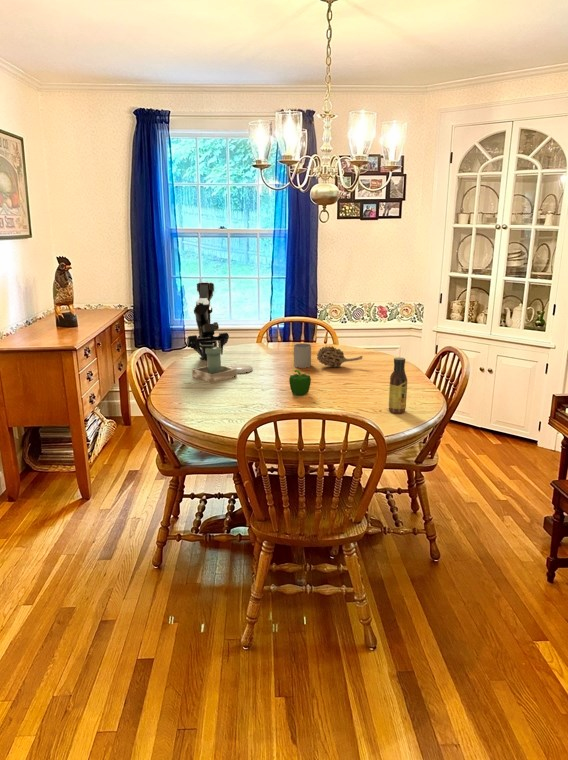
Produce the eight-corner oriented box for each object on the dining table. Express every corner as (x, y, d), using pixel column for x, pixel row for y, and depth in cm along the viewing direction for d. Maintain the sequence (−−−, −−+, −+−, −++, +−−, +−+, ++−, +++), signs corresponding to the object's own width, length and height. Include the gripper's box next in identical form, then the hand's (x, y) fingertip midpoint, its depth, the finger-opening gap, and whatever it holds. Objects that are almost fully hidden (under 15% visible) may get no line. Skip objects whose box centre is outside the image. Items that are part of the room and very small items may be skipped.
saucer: (221, 370, 263) (221, 368, 263) (240, 365, 271) (240, 363, 271) (238, 375, 255) (238, 372, 255) (257, 370, 263) (257, 367, 263)
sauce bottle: (404, 415, 202) (406, 361, 196) (386, 413, 204) (389, 360, 198) (407, 409, 208) (410, 357, 202) (390, 407, 210) (392, 355, 204)
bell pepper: (314, 395, 225) (314, 371, 222) (296, 398, 221) (296, 374, 218) (303, 390, 232) (303, 366, 229) (286, 393, 228) (286, 369, 225)
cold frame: (192, 377, 253) (192, 369, 252) (216, 370, 262) (216, 363, 261) (212, 382, 243) (211, 375, 242) (236, 376, 253) (236, 368, 252)
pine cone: (316, 369, 263) (316, 348, 260) (317, 364, 272) (317, 344, 270) (363, 370, 261) (364, 349, 258) (362, 364, 270) (363, 344, 268)
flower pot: (203, 376, 253) (202, 348, 249) (215, 373, 257) (214, 346, 254) (213, 379, 248) (212, 351, 244) (225, 376, 253) (224, 348, 249)
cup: (313, 366, 268) (314, 346, 265) (298, 368, 265) (297, 348, 262) (306, 362, 275) (306, 342, 272) (291, 364, 272) (291, 344, 270)
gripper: (186, 318, 249) (194, 347, 242) (226, 314, 256) (235, 343, 249) (183, 332, 258) (190, 361, 251) (222, 329, 265) (230, 356, 258)
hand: (212, 355), depth 252 cm, fingers open, 9 cm apart
